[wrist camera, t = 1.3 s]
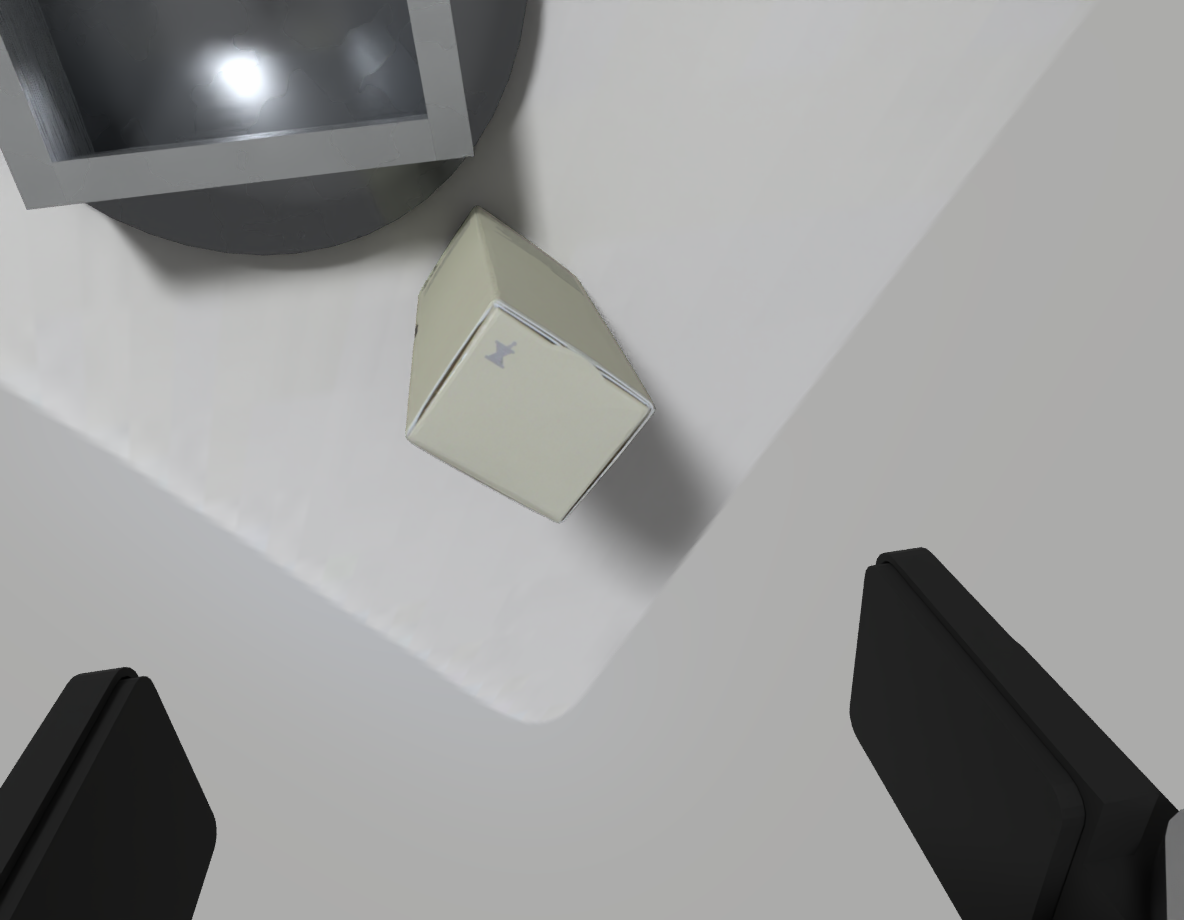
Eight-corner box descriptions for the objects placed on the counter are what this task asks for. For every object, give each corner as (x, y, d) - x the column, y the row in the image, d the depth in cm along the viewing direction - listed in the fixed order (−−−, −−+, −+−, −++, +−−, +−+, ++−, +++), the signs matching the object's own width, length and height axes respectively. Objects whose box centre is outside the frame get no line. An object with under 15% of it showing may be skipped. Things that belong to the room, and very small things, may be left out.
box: (414, 295, 30) (384, 437, 18) (477, 199, 29) (486, 288, 17) (526, 367, 32) (561, 535, 20) (589, 280, 31) (664, 408, 19)
